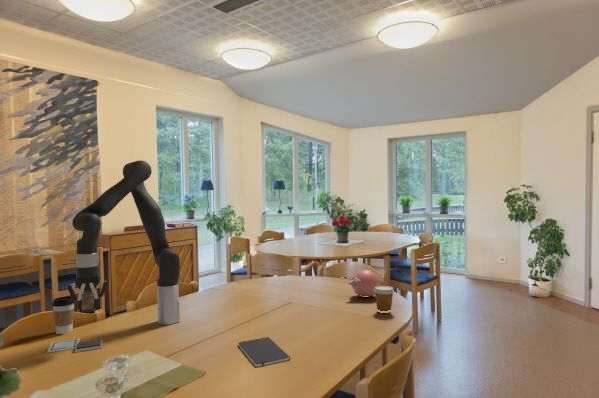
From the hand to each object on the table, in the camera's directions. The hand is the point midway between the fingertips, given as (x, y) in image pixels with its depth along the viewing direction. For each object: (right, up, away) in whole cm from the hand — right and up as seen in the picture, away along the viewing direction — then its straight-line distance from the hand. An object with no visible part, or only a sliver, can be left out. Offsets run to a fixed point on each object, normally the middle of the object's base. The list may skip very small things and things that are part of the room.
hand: (88, 308), depth 148 cm
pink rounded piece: (+117, -13, +65) cm, 134 cm away
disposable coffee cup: (+123, -13, +39) cm, 130 cm away
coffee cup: (-19, -15, +16) cm, 30 cm away
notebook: (+68, -15, -6) cm, 70 cm away
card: (-10, -15, +2) cm, 18 cm away
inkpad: (0, -15, 0) cm, 15 cm away
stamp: (0, -1, 0) cm, 1 cm away
